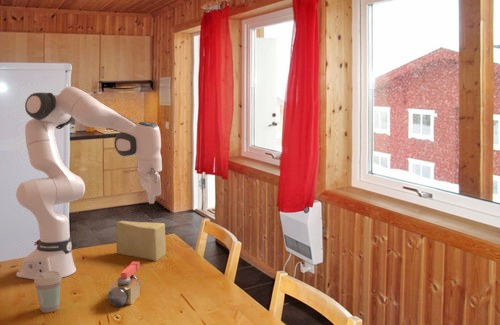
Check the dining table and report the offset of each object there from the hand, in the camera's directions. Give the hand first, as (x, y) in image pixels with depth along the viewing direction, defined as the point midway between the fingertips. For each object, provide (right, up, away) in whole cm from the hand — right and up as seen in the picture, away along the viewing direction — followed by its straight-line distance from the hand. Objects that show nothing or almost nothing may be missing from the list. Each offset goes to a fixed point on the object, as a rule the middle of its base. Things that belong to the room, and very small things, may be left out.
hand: (151, 202), depth 186 cm
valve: (-7, -33, -10) cm, 35 cm away
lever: (-7, -26, -7) cm, 28 cm away
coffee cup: (-31, -35, -17) cm, 49 cm away
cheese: (-12, -26, +35) cm, 45 cm away
